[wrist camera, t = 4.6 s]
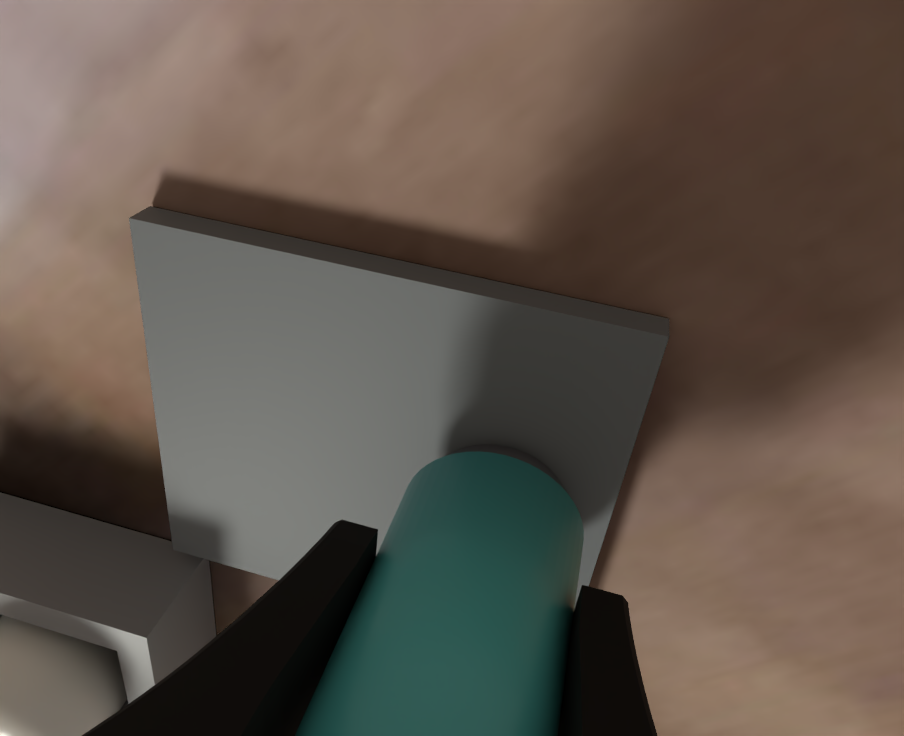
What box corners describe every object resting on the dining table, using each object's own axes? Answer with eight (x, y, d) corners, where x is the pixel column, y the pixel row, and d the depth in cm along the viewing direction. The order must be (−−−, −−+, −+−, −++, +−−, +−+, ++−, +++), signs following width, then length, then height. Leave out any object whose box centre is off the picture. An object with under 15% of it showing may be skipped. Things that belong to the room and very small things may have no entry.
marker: (609, 455, 12) (556, 944, 6) (569, 587, 14) (499, 1063, 8) (418, 408, 13) (208, 824, 7) (403, 542, 14) (226, 962, 9)
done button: (133, 617, 17) (56, 718, 15) (149, 707, 19) (84, 808, 17) (-3, 576, 18) (-97, 668, 15) (27, 667, 20) (-52, 760, 17)
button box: (208, 552, 17) (146, 637, 15) (222, 700, 21) (173, 787, 19) (-14, 488, 18) (-101, 561, 16) (33, 640, 22) (-34, 717, 19)
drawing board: (669, 318, 12) (669, 336, 11) (567, 639, 16) (563, 662, 15) (150, 206, 13) (129, 218, 12) (187, 531, 17) (173, 550, 17)
